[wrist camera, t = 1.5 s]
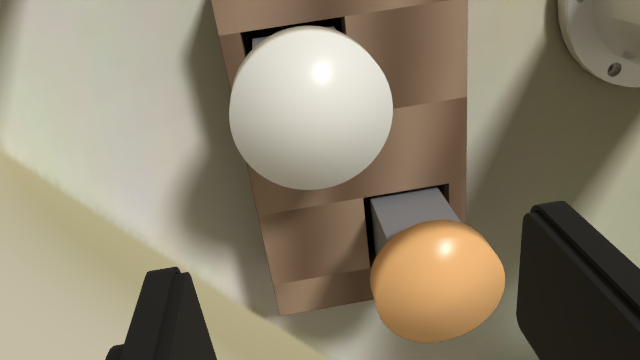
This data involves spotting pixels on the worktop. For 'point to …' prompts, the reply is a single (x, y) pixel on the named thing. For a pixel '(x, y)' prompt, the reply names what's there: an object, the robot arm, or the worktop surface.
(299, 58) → the white button
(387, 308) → the orange button
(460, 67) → the button panel
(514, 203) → the worktop surface
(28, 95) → the worktop surface
